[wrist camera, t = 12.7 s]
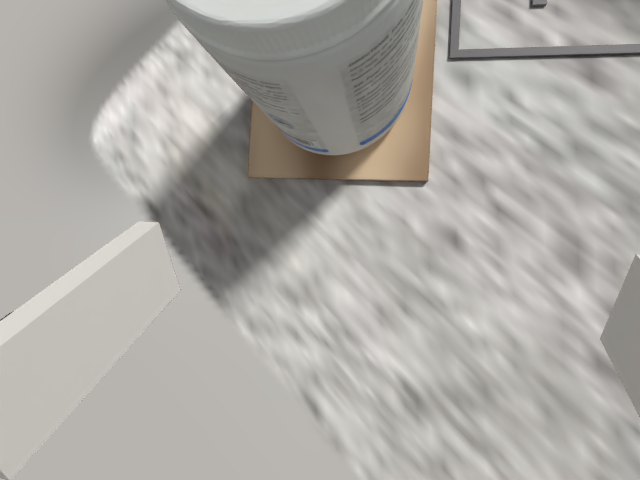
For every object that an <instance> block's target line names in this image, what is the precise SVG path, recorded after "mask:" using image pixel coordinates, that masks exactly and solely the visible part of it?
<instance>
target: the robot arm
mask: <svg viewBox="0 0 640 480" xmlns="http://www.w3.org/2000/svg"><path fill="white" fill-rule="evenodd" d="M179 291H180V286H179V283H178V280H177V277H176V274H175V271H174V268H173V265H172V262H171V259H170V255H169V252H168V249H167V246H166V243H165V240H164V237H163V234H162V231H161V227H160V224H159V222H145V221H138V222H137V223H135V224H134V225H133V226H131V227H130V228H129V229H127V230H126V231H125V232H123V233H122V234H120V235H119V236H117V237H116V238H115V239H113V240H112V241H111V242H109V243H108V244H106V245H105V246H104V247H102V248H101V249H100V250H98V251H97V252H95V253H94V254H93V255H91V256H90V257H88V258H87V259H86V260H84V261H83V262H81V263H80V264H79V265H77V266H76V267H75V268H73V269H72V270H70V271H69V272H68V273H66V274H65V275H63V276H62V277H61V278H60V279H58V280H57V281H55V282H54V283H52V284H51V285H50V286H48V287H47V288H46V289H44V290H43V291H41V292H40V293H39V294H37V295H36V296H34V297H33V298H32V299H30V300H29V301H28V302H26V303H25V304H24V305H22V306H21V307H19V308H18V309H16V310H15V311H13V312H11V313H9V314H8V315H6V316H5V317H4V318H2V319H1V320H0V478H2V479H6V480H11V479H12V478H13V477H14V476H15V475H16V473H17V472H18V471H19V470H20V469H21V468H22V467H23V466H24V464H25V463H26V462H27V461H28V460H29V459H30V458H31V457H32V456H33V454H34V453H35V452H36V451H37V450H38V449H39V448H40V447H41V446H42V444H43V443H44V442H45V441H46V440H47V439H48V438H49V437H50V435H51V434H52V433H53V432H54V431H55V430H56V429H57V428H58V427H59V425H60V424H61V423H62V422H63V421H64V420H65V419H66V417H67V416H68V415H69V414H70V413H71V412H72V411H73V410H74V409H75V407H76V406H77V405H78V404H79V403H80V402H81V401H82V399H84V397H85V396H86V395H87V394H88V393H89V392H90V391H91V390H92V389H93V387H94V386H95V385H96V384H97V383H98V382H99V381H100V379H102V377H103V376H104V375H105V374H106V373H107V372H108V371H109V370H110V368H111V367H112V366H113V365H114V364H115V363H116V362H117V361H118V359H119V358H120V357H121V356H122V355H123V354H124V353H125V352H126V351H127V349H128V348H129V347H130V346H131V345H132V344H133V343H134V342H135V340H136V339H137V338H138V337H139V336H140V335H141V334H142V333H143V332H144V330H145V329H146V328H147V327H148V326H149V325H150V324H151V323H152V322H153V320H154V319H155V318H156V317H157V316H158V315H159V314H160V313H161V312H162V310H163V309H164V308H165V307H166V306H167V305H168V304H169V303H170V301H171V300H172V299H173V298H174V297H175V296H176V295H177V294H178V293H179ZM600 340H601V342H602V344H603V346H604V348H605V350H606V352H607V354H608V355H609V357H610V359H611V361H612V363H613V365H614V367H615V369H616V371H617V373H618V375H619V377H620V379H621V381H622V383H623V385H624V387H625V389H626V391H627V393H628V395H629V397H630V399H631V401H632V403H633V405H634V407H635V409H636V411H637V413H638V415H639V417H640V254H636V255H635V257H634V260H633V262H632V264H631V267H630V269H629V271H628V274H627V276H626V279H625V281H624V283H623V286H622V288H621V290H620V293H619V295H618V297H617V300H616V302H615V305H614V307H613V309H612V312H611V314H610V316H609V319H608V321H607V323H606V326H605V328H604V330H603V333H602V335H601V338H600Z"/></svg>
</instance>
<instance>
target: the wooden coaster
mask: <svg viewBox="0 0 640 480" xmlns="http://www.w3.org/2000/svg"><path fill="white" fill-rule="evenodd" d="M436 11H437V0H423V7H422V14H421V22H420V30H419V37H418V44H417V51H416V59H415V66H414V74H413V81H412V87H411V92H410V96H409V99H408V102H407V104H406V107H405V109H404V111H403V113H402V114H401V116H400V118H399V119H398V121H397V122H396V123H395V125H394V126H393V127H392V128H391V129H390V130H389V131H388V132H387V133H386V134H385V135H384V136H382V137H381V138H380V139H379V140H377V141H376V142H374V143H373V144H371V145H369V146H368V147H366V148H364V149H361V150H359V151H356V152H353V153H349V154H343V155H322V154H317V153H313V152H310V151H307V150H305V149H303V148H301V147H299V146H297V145H296V144H294V143H293V142H291V141H290V140H289V139H288V138H286V137H285V136H284V135H283V133H282V132H281V131H280V130H279V129H278V128H277V127H276V126H275V125H274V123H273V122H272V121H271V120H270V119H269V118H268V117H267V116H266V115H265V114H264V113H263V112H262V110H261V109H260V108H259V107H258V106H257V105H256V104H255V103H254V102H253V101H252V115H251V131H250V148H249V164H248V177H257V178H297V179H338V180H378V181H418V182H428V174H429V154H430V133H431V113H432V93H433V72H434V52H435V32H436Z"/></svg>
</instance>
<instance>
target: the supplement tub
mask: <svg viewBox="0 0 640 480" xmlns="http://www.w3.org/2000/svg"><path fill="white" fill-rule="evenodd" d="M165 1H166V3H167V4H168V6H169V7H170V9H171V10H172V12H173V13H174V15H175V16H176V17H177V18H178V20H179V21H180V22H181V23H182V24H183V25H184V26H185V27H186V28H187V29H188V31H189V32H190V33H191V34H192V35H193V36H194V37H195V38H196V39H197V41H198V42H199V43H200V44H201V45H202V46H203V47H204V49H205V50H206V51H207V52H208V53H209V54H210V55H211V56H212V57H213V58H214V59H215V60H216V62H217V63H218V64H219V65H220V66H221V67H222V68H223V69H224V70H225V71H226V73H227V74H228V75H229V76H230V77H231V78H232V79H233V80H234V81H235V82H236V83H237V84H238V86H239V87H240V88H241V89H242V90H243V91H244V92H245V93H246V94H247V95H248V96H249V97H250V99H251V100H252V101H253V102H254V103H255V104H256V105H257V106H258V107H259V108H260V109H261V110H262V112H263V113H264V114H265V115H266V116H267V117H268V118H269V119H270V120H271V121H272V122H273V123H274V125H275V126H276V127H277V128H278V129H279V130H280V131H281V132H282V133H283V135H284V136H285V137H286V138H288V139H289V140H290V141H291V142H293V143H294V144H296V145H297V146H299V147H301V148H303V149H305V150H307V151H310V152H313V153H317V154H322V155H343V154H349V153H353V152H356V151H359V150H361V149H364V148H366V147H368V146H369V145H371V144H373V143H374V142H376V141H377V140H379V139H380V138H381V137H382V136H384V135H385V134H386V133H387V132H388V131H389V130H390V129H391V128H392V127H393V126H394V125H395V123H396V122H397V121H398V119H399V118H400V116H401V114H402V113H403V111H404V109H405V107H406V104H407V102H408V99H409V96H410V92H411V87H412V81H413V74H414V66H415V59H416V51H417V44H418V37H419V30H420V22H421V14H422V7H423V0H165Z"/></svg>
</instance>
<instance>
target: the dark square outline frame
mask: <svg viewBox="0 0 640 480" xmlns="http://www.w3.org/2000/svg"><path fill="white" fill-rule="evenodd" d="M546 4H547V0H532V6H546ZM460 7H461V0H452V17H451V38H450V59H462V58H499V57H536V56H572V55H609V54H640V44H624V45H592V46H560V47H528V48H495V49H463V50H458V49H459V28H460Z"/></svg>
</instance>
